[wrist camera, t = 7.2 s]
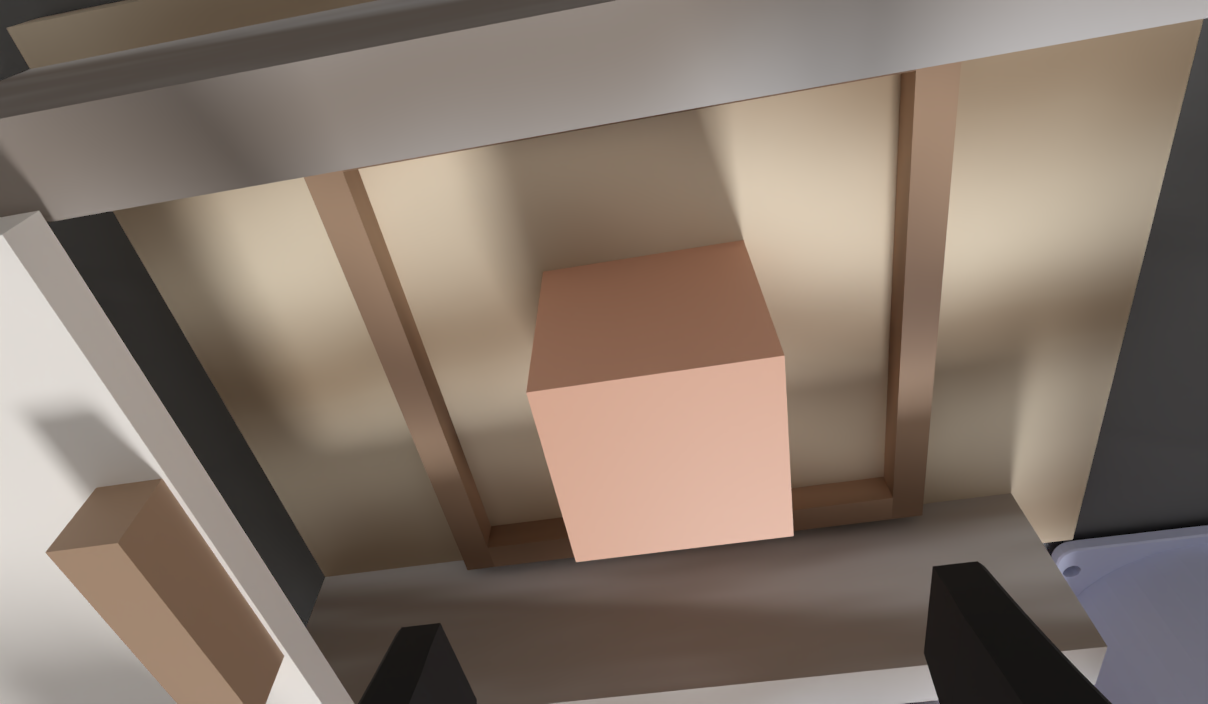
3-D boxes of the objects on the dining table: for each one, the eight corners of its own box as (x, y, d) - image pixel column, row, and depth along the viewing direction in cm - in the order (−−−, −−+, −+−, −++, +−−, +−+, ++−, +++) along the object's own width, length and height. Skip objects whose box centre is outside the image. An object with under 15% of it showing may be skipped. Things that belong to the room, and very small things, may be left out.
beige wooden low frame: (1055, 514, 23) (1177, 694, 18) (360, 597, 25) (301, 778, 20) (1223, -226, 13) (1597, -266, 8) (39, 17, 15) (-230, 101, 10)
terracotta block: (756, 399, 19) (793, 535, 15) (581, 424, 19) (575, 561, 16) (743, 239, 16) (784, 355, 13) (543, 271, 17) (525, 392, 13)
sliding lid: (374, 735, 18) (349, 832, 17) (75, 765, 19) (19, 861, 17) (39, 209, 11) (-77, 286, 9) (-439, 295, 12) (-635, 380, 10)
